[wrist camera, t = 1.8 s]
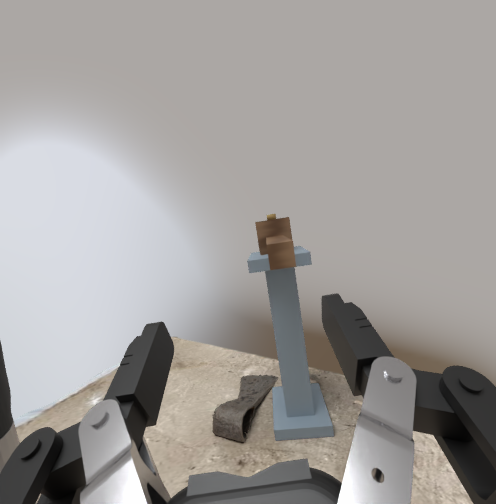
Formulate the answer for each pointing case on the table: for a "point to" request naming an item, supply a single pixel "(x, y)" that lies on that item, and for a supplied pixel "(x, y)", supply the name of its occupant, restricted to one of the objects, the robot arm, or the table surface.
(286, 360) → the stand
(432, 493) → the table surface
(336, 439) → the table surface
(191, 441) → the table surface
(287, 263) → the marking gauge
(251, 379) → the axe head
